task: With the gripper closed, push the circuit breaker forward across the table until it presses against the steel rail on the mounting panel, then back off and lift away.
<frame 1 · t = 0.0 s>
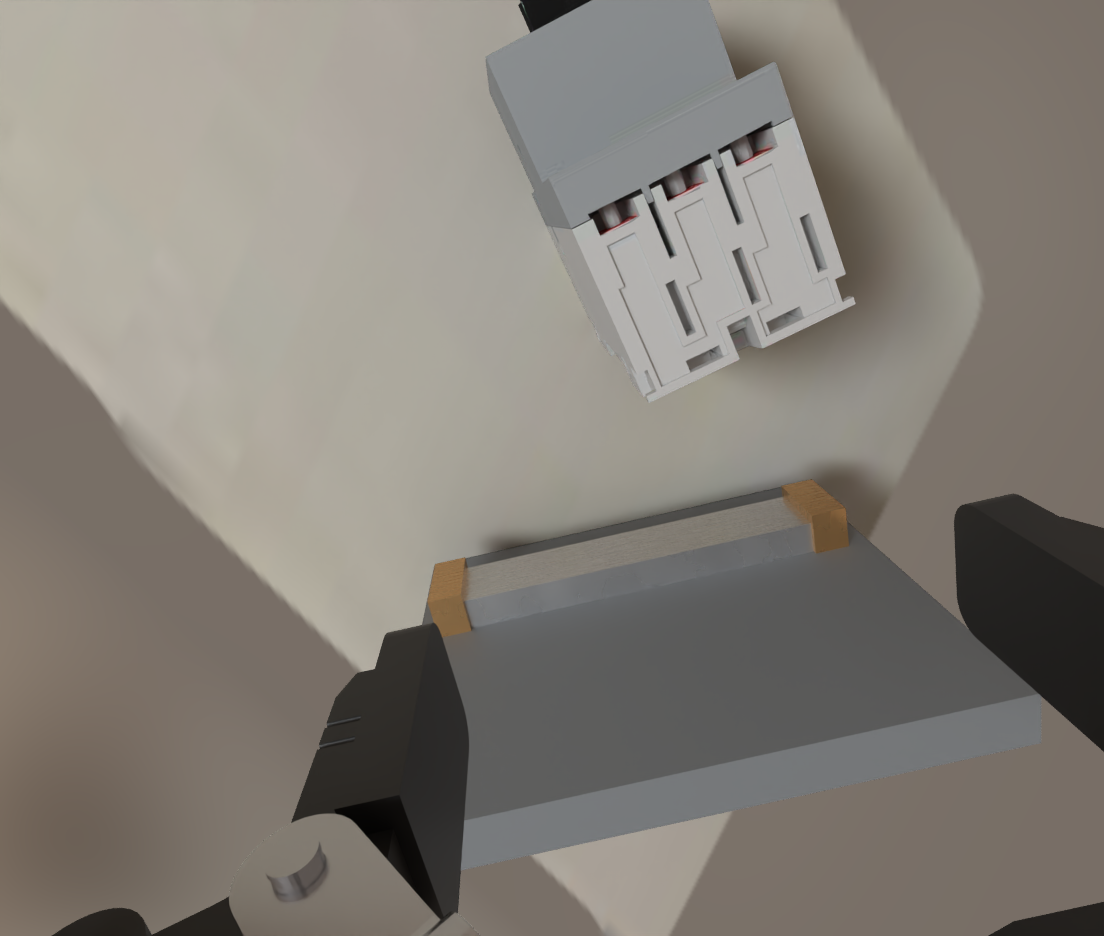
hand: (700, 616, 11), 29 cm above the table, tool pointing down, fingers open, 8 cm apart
din rail: (615, 512, 42), resting on mounting panel
circuit breaker: (607, 179, 37), on the table
mounting panel: (621, 539, 43), on the table
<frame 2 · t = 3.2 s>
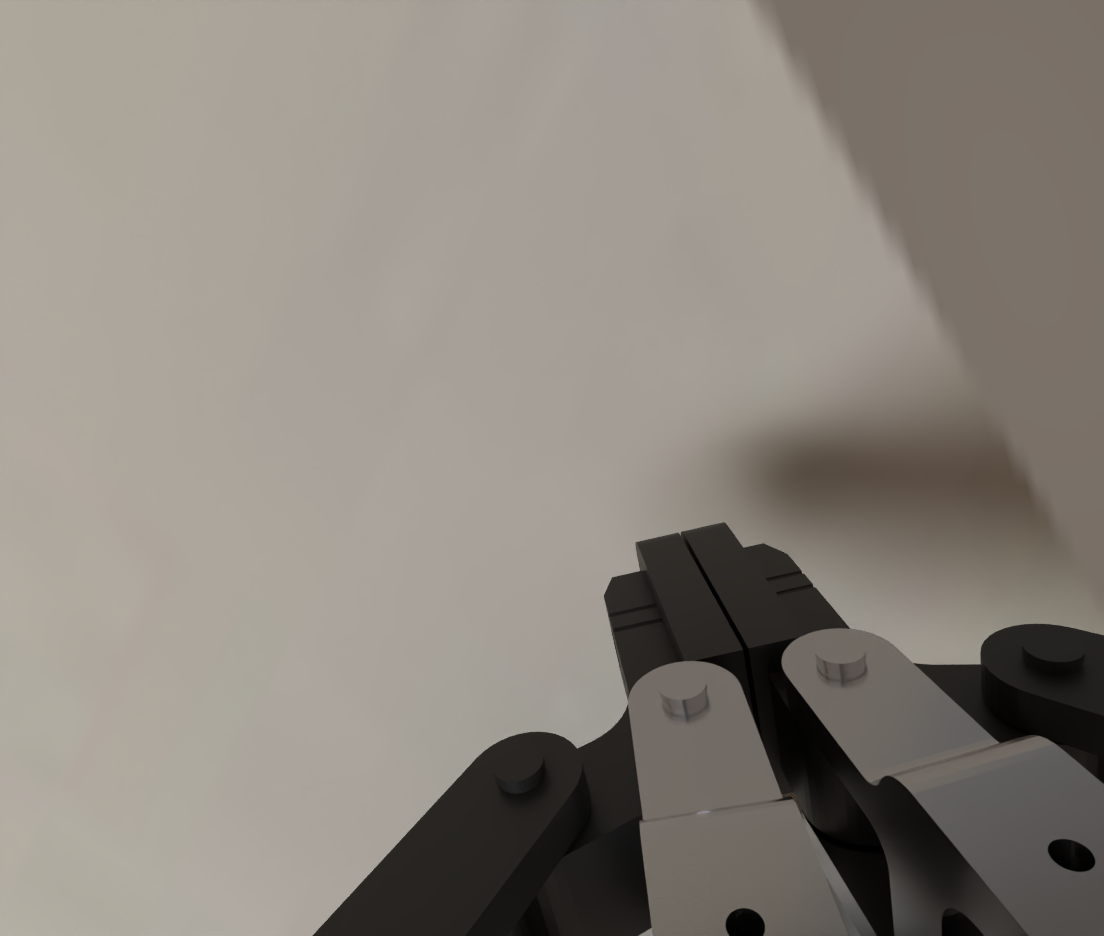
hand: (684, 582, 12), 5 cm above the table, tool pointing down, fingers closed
circuit breaker: (713, 881, 22), on the table
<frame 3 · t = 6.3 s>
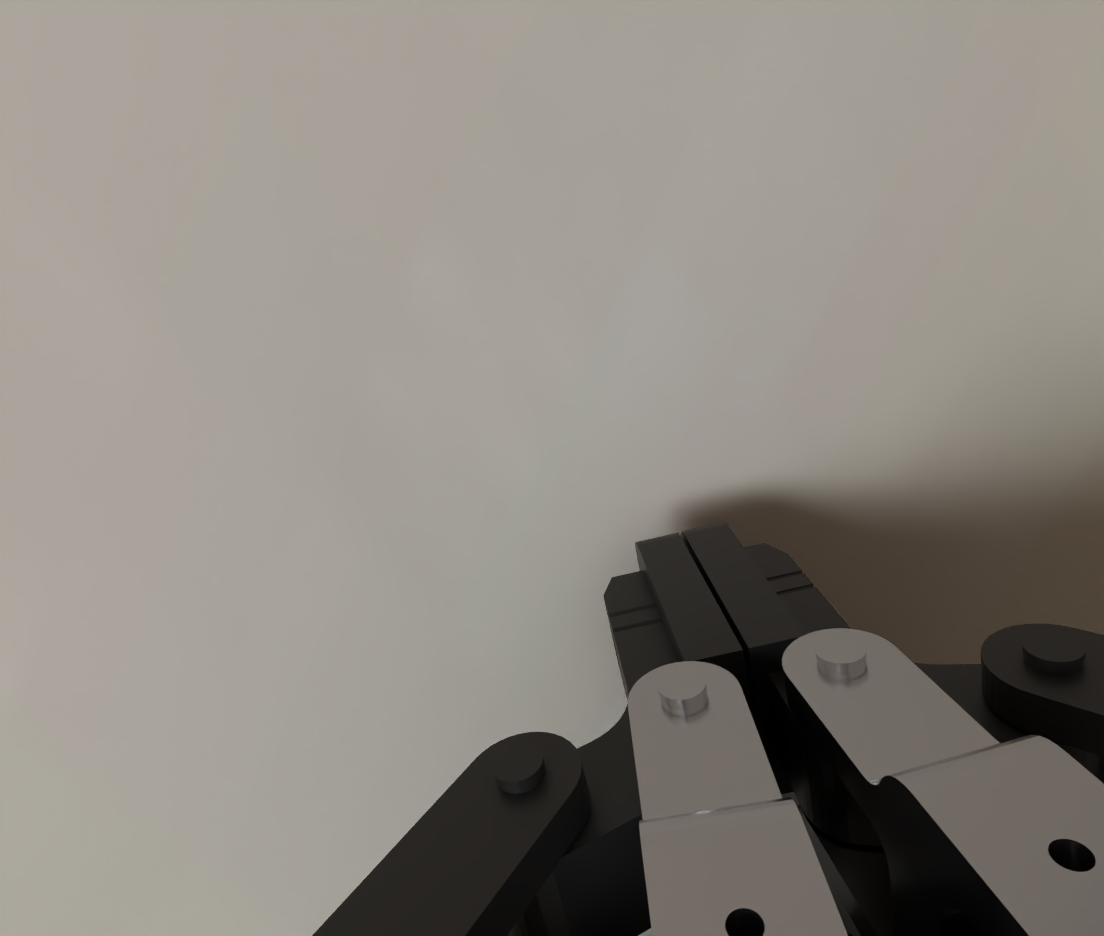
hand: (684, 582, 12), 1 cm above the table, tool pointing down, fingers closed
circuit breaker: (757, 844, 16), on the table, touching hand
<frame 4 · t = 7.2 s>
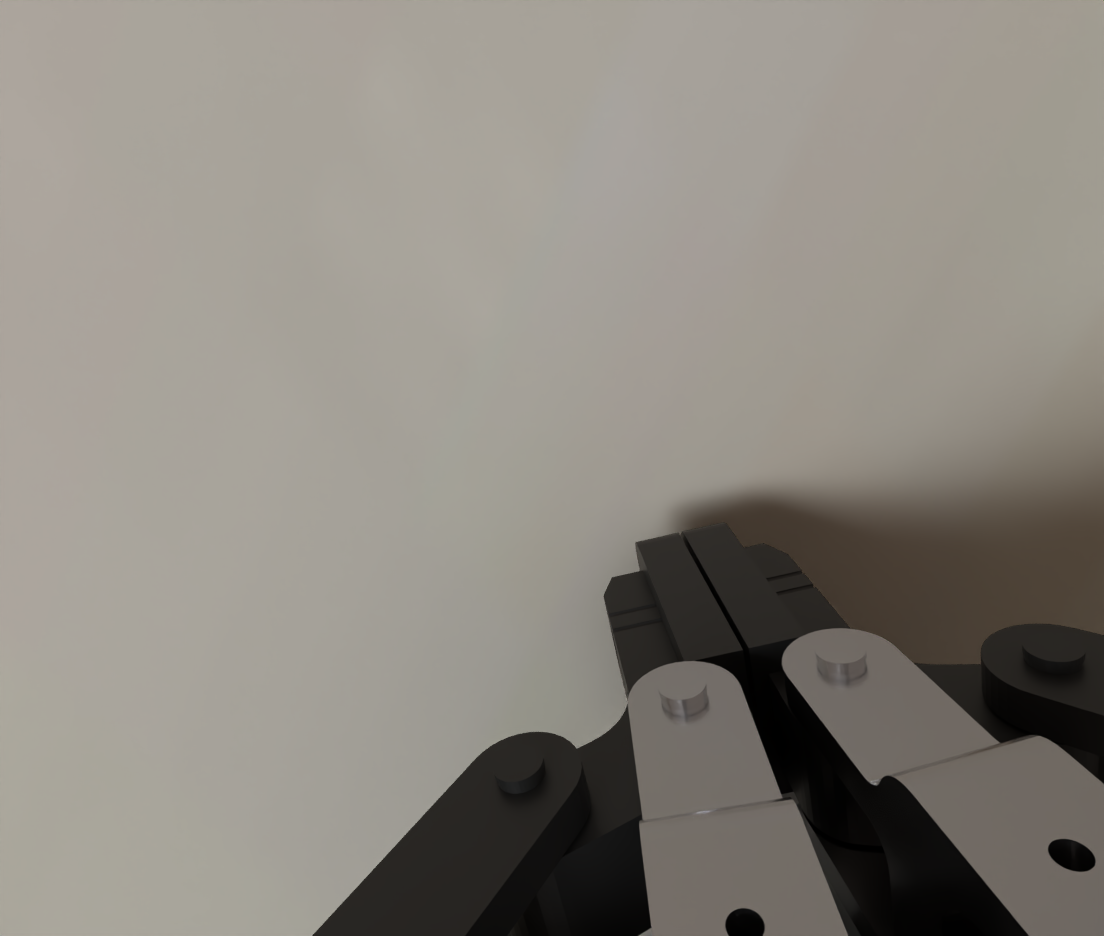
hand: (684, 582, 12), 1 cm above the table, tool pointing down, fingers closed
circuit breaker: (757, 845, 16), on the table, touching hand
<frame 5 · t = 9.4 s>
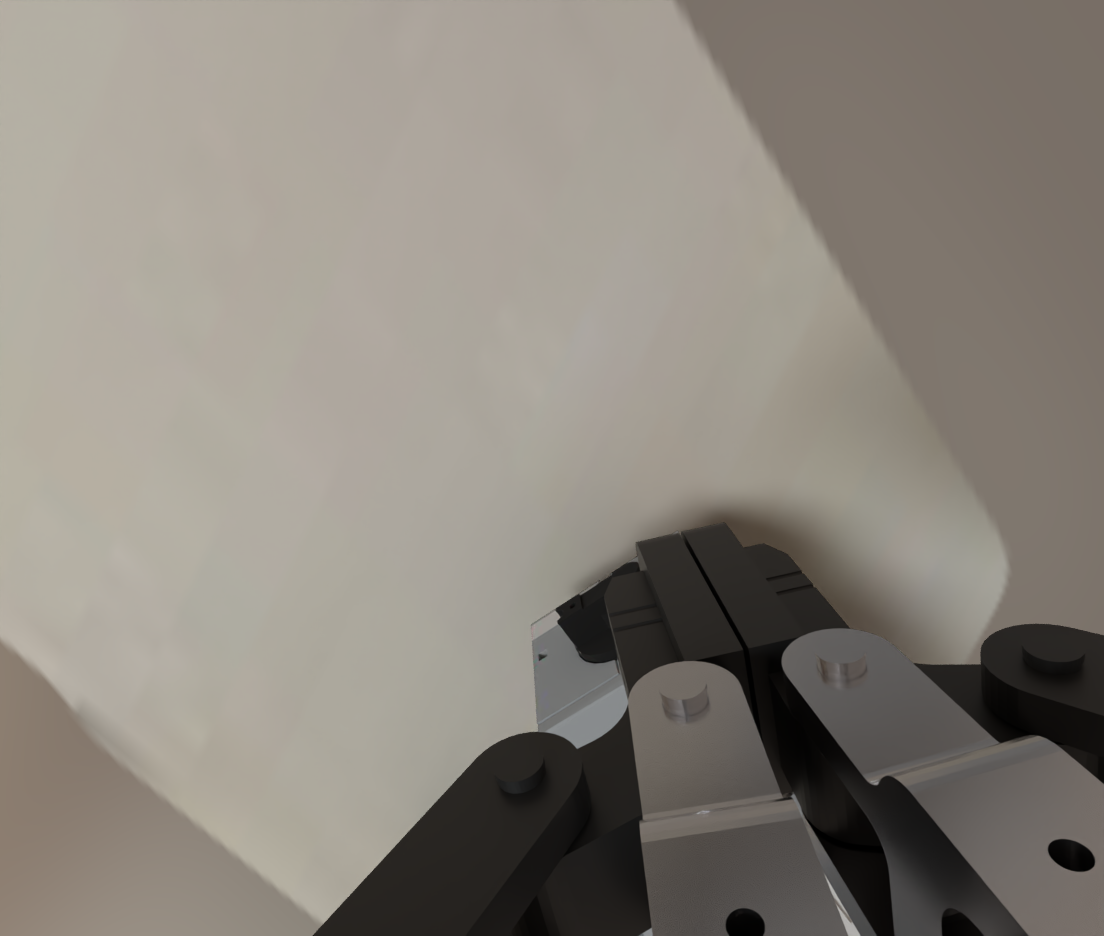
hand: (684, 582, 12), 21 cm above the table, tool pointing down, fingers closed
circuit breaker: (652, 620, 37), on the table
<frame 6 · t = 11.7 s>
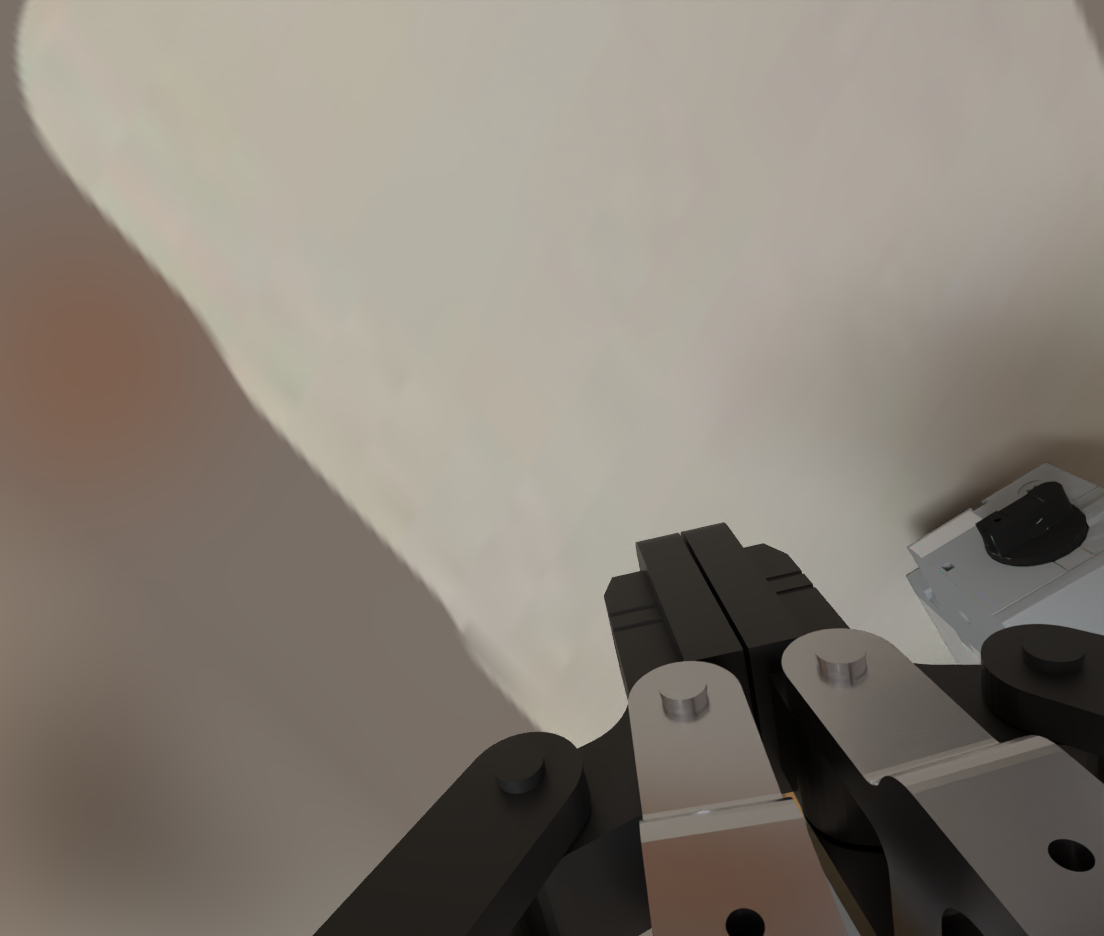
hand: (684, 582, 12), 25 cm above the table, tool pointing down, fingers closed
circuit breaker: (970, 550, 41), on the table
mounting panel: (915, 724, 45), on the table
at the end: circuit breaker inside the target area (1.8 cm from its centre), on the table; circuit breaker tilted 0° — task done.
